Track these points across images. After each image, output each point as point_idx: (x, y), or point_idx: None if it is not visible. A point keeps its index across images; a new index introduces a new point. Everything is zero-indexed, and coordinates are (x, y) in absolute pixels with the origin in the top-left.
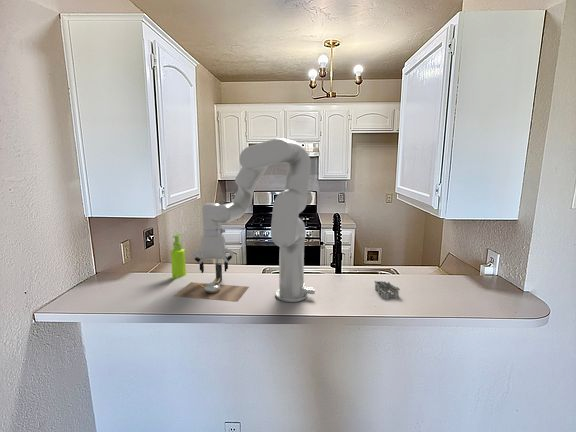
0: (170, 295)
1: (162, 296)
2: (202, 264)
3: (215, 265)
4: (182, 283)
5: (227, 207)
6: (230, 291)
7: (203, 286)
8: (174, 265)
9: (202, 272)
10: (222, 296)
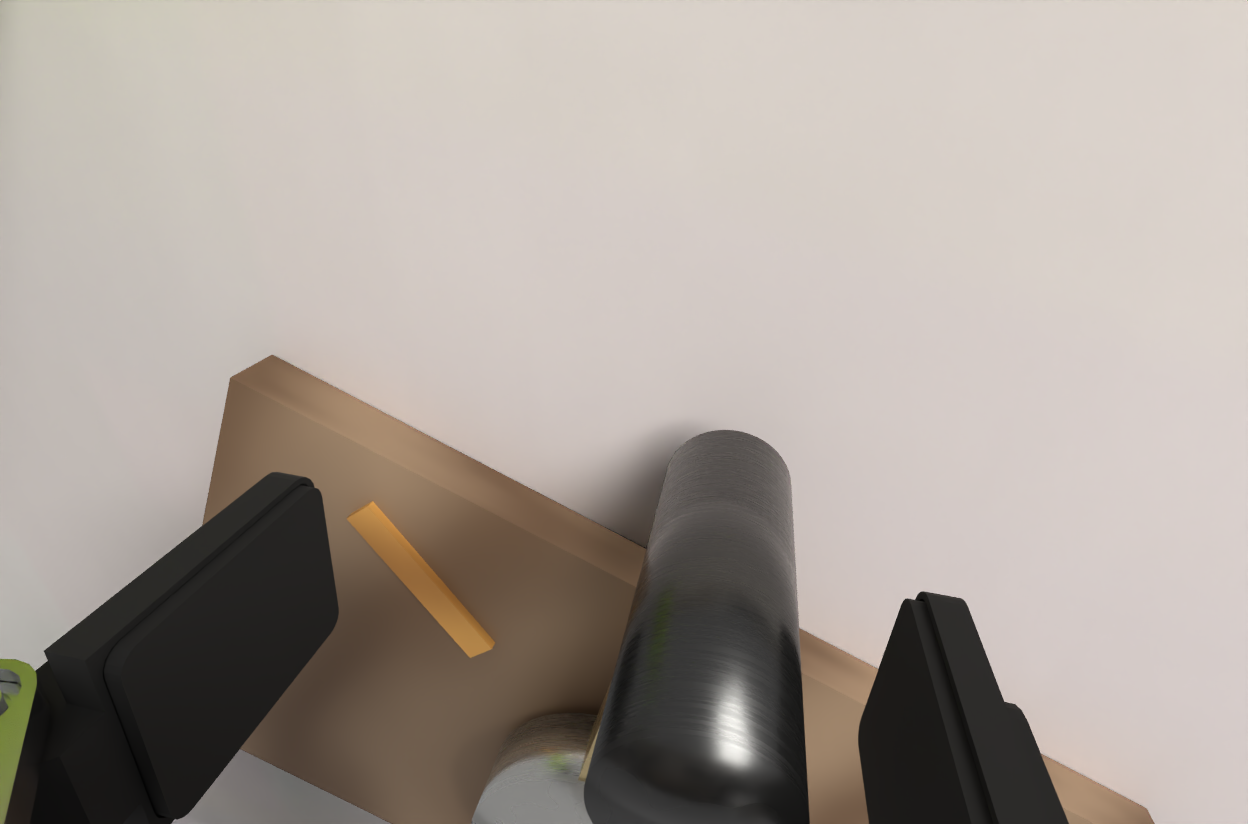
0: (124, 571)
1: (51, 565)
2: (169, 817)
3: (592, 774)
4: (95, 202)
5: None
6: None
7: (462, 631)
8: None
9: (320, 629)
10: None
